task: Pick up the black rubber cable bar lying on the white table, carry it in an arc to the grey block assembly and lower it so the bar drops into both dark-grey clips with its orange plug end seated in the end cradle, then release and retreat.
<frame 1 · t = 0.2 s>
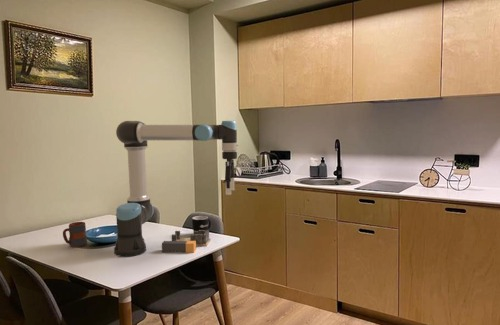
hand: (230, 192, 194), 28 cm above the table, fingers open, 13 cm apart
cable bar: (175, 251, 187), on the table
grey block assembly: (191, 243, 200), on the table
mug: (202, 234, 215), on the table
mug 2: (75, 246, 197), on the table
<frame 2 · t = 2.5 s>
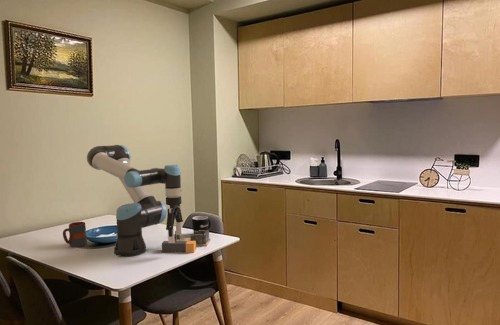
hand: (175, 238, 186), 6 cm above the table, fingers open, 13 cm apart
nothing on the table moved.
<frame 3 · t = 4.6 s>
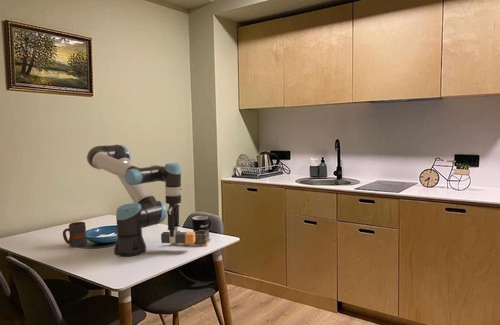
hand: (173, 241, 187), 5 cm above the table, fingers closed on cable bar, 4 cm apart
cable bar: (174, 242, 187), point 4 cm above the table, touching gripper
everything else where it was.
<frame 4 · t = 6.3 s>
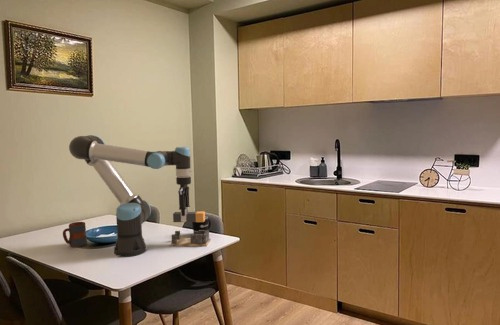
hand: (184, 220, 199), 12 cm above the table, fingers closed on cable bar, 4 cm apart
cable bar: (185, 221, 199), point 12 cm above the table, touching gripper
everything else where it was.
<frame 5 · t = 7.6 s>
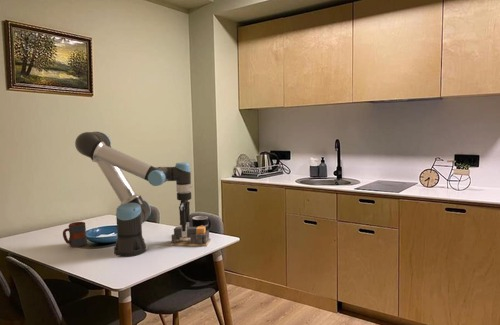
hand: (185, 235, 199), 4 cm above the table, fingers closed on cable bar, 4 cm apart
cable bar: (186, 236, 199), point 4 cm above the table, touching gripper
everything else where it was.
when the fingers open (2 cm above the table, at t = 8.3 s): cable bar stays where it is, resting on grey block assembly.
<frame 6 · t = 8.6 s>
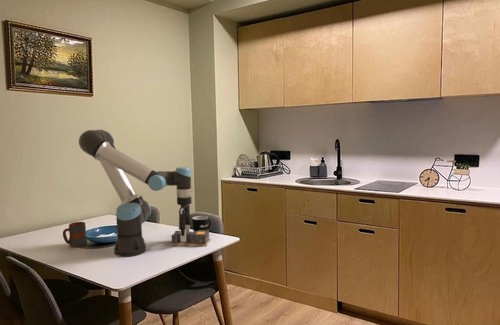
hand: (185, 239, 200), 2 cm above the table, fingers open, 7 cm apart
cable bar: (186, 241, 200), point 1 cm above the table, touching grey block assembly
everything else where it was.
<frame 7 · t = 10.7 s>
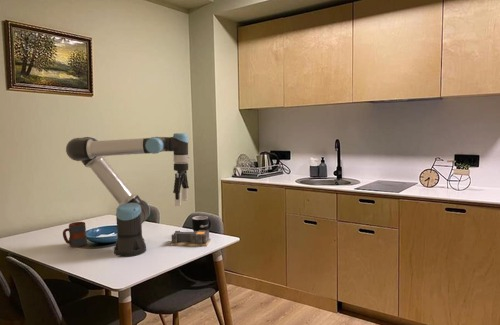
hand: (181, 203, 198), 21 cm above the table, fingers open, 13 cm apart
nothing on the table moved.
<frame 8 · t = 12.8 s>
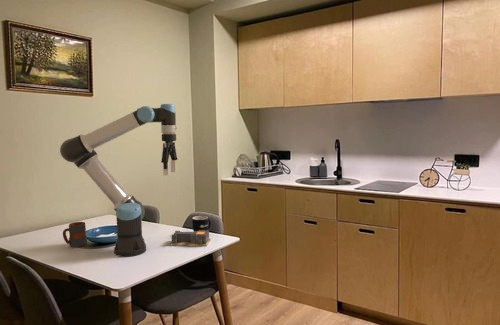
hand: (170, 173, 200), 37 cm above the table, fingers open, 13 cm apart
nothing on the table moved.
at the end: cable bar 0.3 cm from the target spot on the grey block assembly, point 1.0 cm above the grey block assembly's base; cable bar tilted 0°; the gripper is holding nothing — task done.
